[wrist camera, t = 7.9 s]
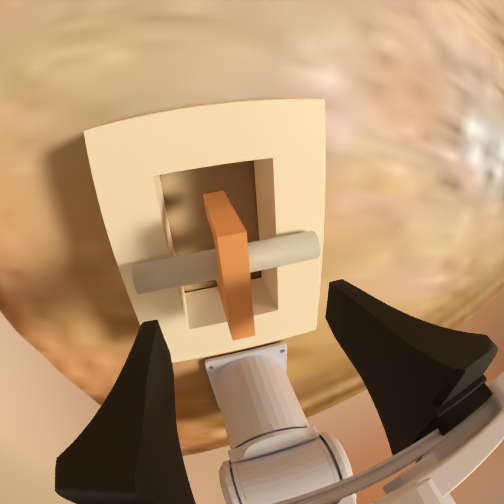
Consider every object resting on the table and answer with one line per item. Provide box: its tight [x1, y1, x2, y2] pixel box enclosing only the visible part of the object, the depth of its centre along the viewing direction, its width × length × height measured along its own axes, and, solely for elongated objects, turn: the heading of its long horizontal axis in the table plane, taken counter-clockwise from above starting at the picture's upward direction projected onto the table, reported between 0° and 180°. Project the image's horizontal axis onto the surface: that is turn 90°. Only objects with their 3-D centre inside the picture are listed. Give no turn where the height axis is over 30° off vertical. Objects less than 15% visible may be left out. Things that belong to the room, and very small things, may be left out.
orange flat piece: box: [203, 191, 255, 340], centre depth 15 cm, size 6×1×6 cm, turn 4°
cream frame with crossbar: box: [84, 98, 326, 363], centre depth 17 cm, size 16×12×6 cm
